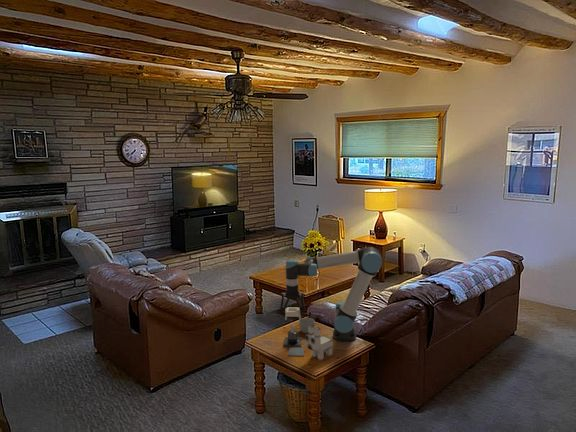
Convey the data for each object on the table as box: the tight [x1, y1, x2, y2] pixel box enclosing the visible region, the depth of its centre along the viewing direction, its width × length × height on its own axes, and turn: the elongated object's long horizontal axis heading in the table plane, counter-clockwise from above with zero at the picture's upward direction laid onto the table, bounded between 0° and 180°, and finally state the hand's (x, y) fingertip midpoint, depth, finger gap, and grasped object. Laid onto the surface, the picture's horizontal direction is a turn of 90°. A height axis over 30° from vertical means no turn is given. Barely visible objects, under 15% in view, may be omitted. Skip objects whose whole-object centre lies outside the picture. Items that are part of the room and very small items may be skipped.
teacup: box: [298, 316, 316, 334], centre depth 289 cm, size 14×11×8 cm
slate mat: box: [288, 347, 305, 357], centre depth 259 cm, size 9×10×1 cm
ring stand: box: [283, 324, 303, 348], centre depth 271 cm, size 11×11×12 cm
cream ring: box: [286, 306, 300, 318], centre depth 268 cm, size 8×8×3 cm
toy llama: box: [304, 325, 333, 362], centre depth 252 cm, size 8×18×20 cm, turn 131°
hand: (293, 319), depth 269 cm, fingers closed on cream ring, 8 cm apart
